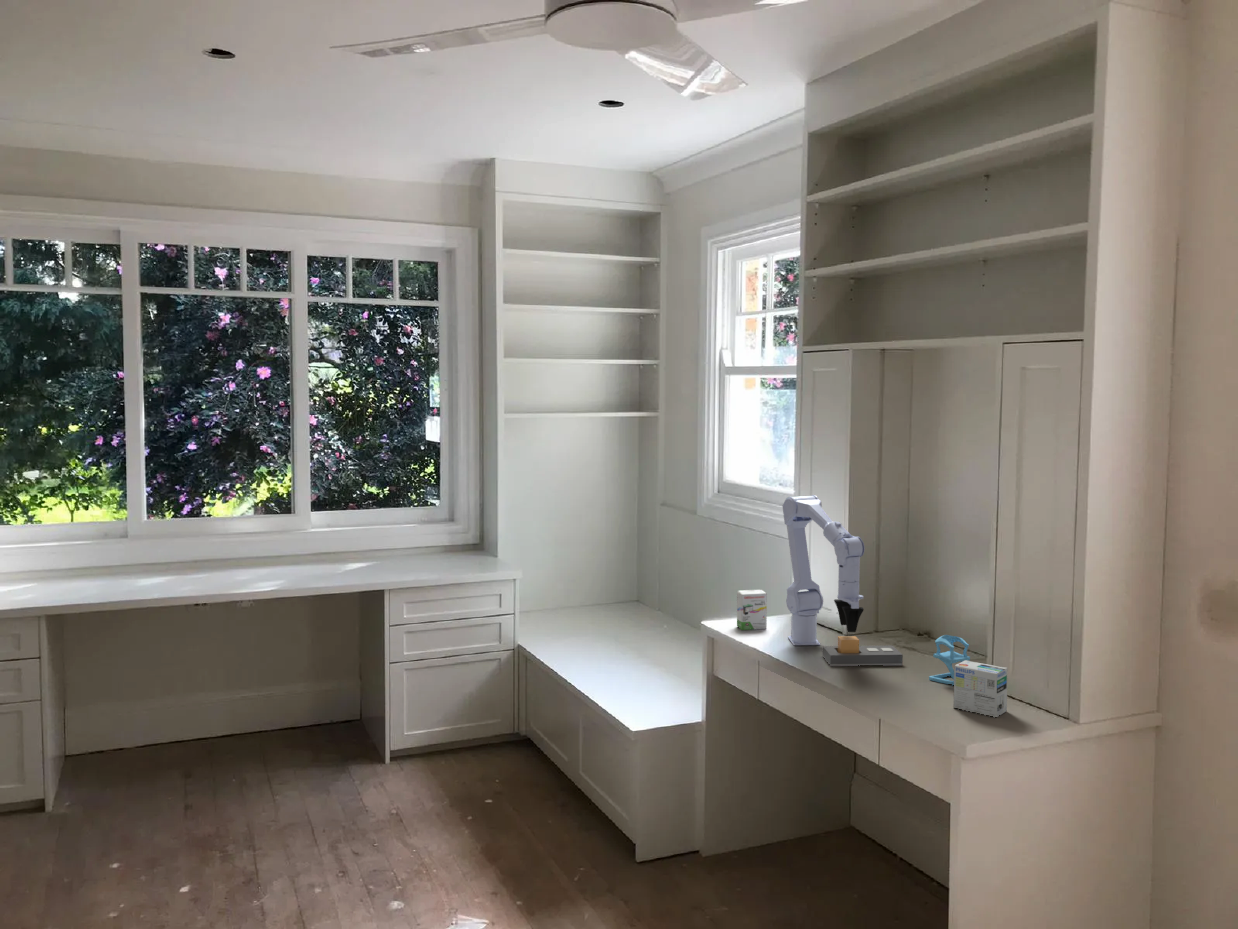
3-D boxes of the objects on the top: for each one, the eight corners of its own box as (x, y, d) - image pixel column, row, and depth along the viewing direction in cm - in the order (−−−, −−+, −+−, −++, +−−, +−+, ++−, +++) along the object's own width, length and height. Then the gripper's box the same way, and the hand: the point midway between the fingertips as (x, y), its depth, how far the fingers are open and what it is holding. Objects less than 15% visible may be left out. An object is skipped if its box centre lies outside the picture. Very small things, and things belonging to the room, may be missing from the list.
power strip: (822, 656, 282) (822, 645, 282) (892, 655, 282) (892, 644, 282) (830, 666, 273) (830, 654, 272) (902, 665, 273) (902, 654, 273)
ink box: (741, 630, 312) (741, 593, 310) (736, 626, 316) (736, 590, 315) (767, 629, 313) (767, 592, 312) (761, 625, 318) (762, 589, 317)
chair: (951, 688, 253) (953, 642, 251) (928, 679, 260) (929, 635, 259) (974, 684, 256) (975, 639, 255) (949, 675, 263) (951, 631, 262)
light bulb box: (1007, 711, 235) (1008, 667, 234) (996, 719, 230) (998, 673, 229) (963, 702, 242) (964, 658, 241) (952, 709, 237) (953, 664, 236)
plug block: (837, 657, 279) (837, 636, 279) (855, 657, 279) (855, 636, 279) (841, 661, 275) (841, 640, 275) (858, 661, 275) (859, 640, 275)
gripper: (870, 585, 268) (869, 634, 269) (856, 575, 283) (855, 621, 284) (844, 586, 268) (843, 635, 269) (831, 575, 283) (831, 622, 284)
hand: (848, 628), depth 277 cm, fingers open, 7 cm apart
